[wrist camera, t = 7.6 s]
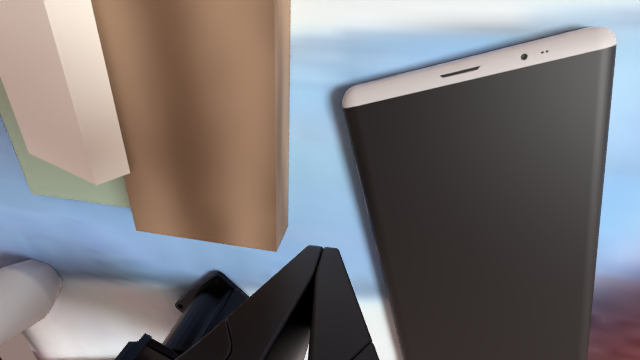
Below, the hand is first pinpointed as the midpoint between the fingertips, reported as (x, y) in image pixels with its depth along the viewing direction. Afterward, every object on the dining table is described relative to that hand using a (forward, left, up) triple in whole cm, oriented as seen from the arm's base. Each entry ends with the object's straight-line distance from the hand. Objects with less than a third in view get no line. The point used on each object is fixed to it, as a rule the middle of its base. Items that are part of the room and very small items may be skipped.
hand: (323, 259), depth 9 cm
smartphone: (+1, -13, -13) cm, 18 cm away
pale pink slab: (-10, +14, -10) cm, 20 cm away
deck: (-5, +8, -12) cm, 15 cm away
